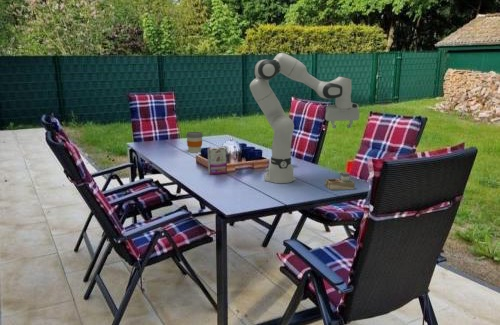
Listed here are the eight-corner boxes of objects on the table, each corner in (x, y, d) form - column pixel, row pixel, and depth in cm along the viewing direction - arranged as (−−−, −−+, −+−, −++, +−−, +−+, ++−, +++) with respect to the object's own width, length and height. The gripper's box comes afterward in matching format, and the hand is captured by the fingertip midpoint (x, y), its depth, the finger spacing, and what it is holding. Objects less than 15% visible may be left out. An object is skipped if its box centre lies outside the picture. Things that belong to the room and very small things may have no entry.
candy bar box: (224, 171, 280) (224, 146, 276) (226, 173, 275) (226, 148, 271) (207, 173, 275) (207, 147, 272) (209, 175, 271) (209, 149, 267)
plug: (340, 186, 249) (341, 172, 248) (346, 185, 250) (346, 172, 248) (342, 187, 246) (343, 174, 244) (348, 187, 247) (349, 173, 245)
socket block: (324, 185, 249) (325, 178, 248) (347, 184, 252) (348, 177, 251) (330, 190, 241) (331, 182, 240) (354, 189, 243) (354, 181, 243)
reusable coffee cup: (186, 150, 346) (186, 131, 343) (202, 150, 347) (202, 131, 344) (186, 153, 334) (185, 134, 330) (202, 153, 335) (202, 134, 332)
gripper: (328, 105, 250) (326, 129, 253) (361, 105, 254) (359, 128, 257) (324, 104, 256) (323, 127, 259) (356, 104, 260) (355, 127, 263)
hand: (341, 128), depth 258 cm, fingers open, 8 cm apart
